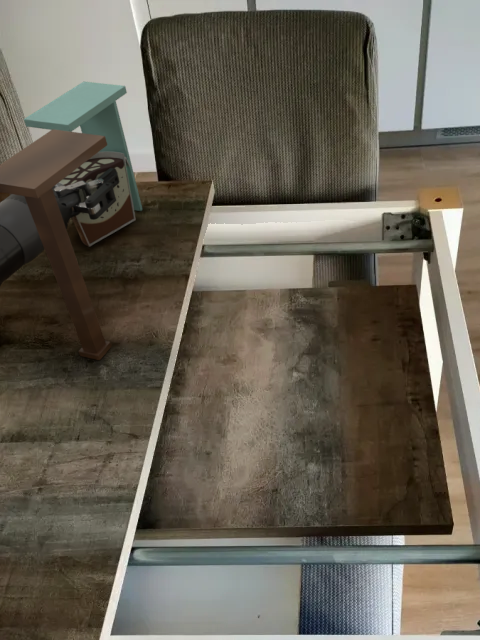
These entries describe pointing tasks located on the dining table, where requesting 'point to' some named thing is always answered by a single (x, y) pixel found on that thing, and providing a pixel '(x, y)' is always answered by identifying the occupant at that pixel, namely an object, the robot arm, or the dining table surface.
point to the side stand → (58, 219)
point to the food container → (89, 171)
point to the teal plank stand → (89, 119)
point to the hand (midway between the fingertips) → (93, 171)
